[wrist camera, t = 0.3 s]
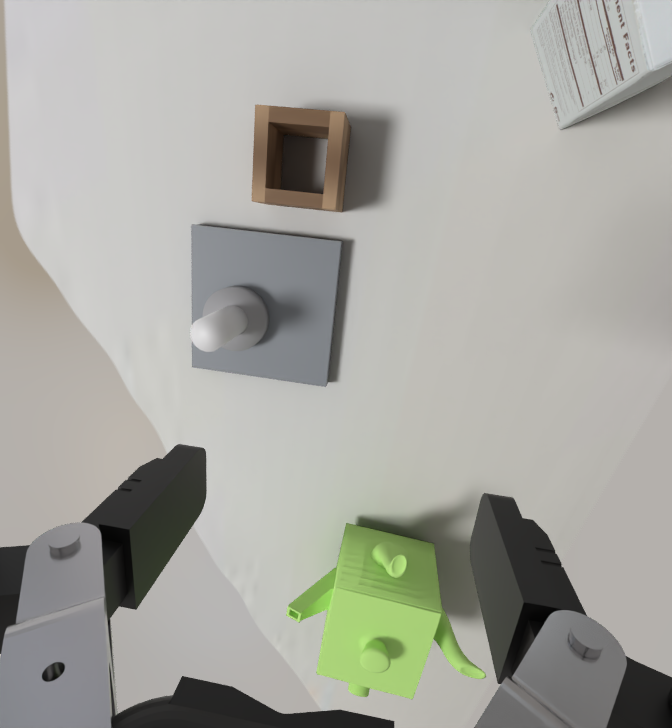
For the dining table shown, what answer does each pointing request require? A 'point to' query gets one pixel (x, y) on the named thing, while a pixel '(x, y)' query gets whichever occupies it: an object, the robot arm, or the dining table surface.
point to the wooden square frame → (270, 151)
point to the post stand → (263, 303)
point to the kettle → (381, 614)
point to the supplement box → (601, 52)
